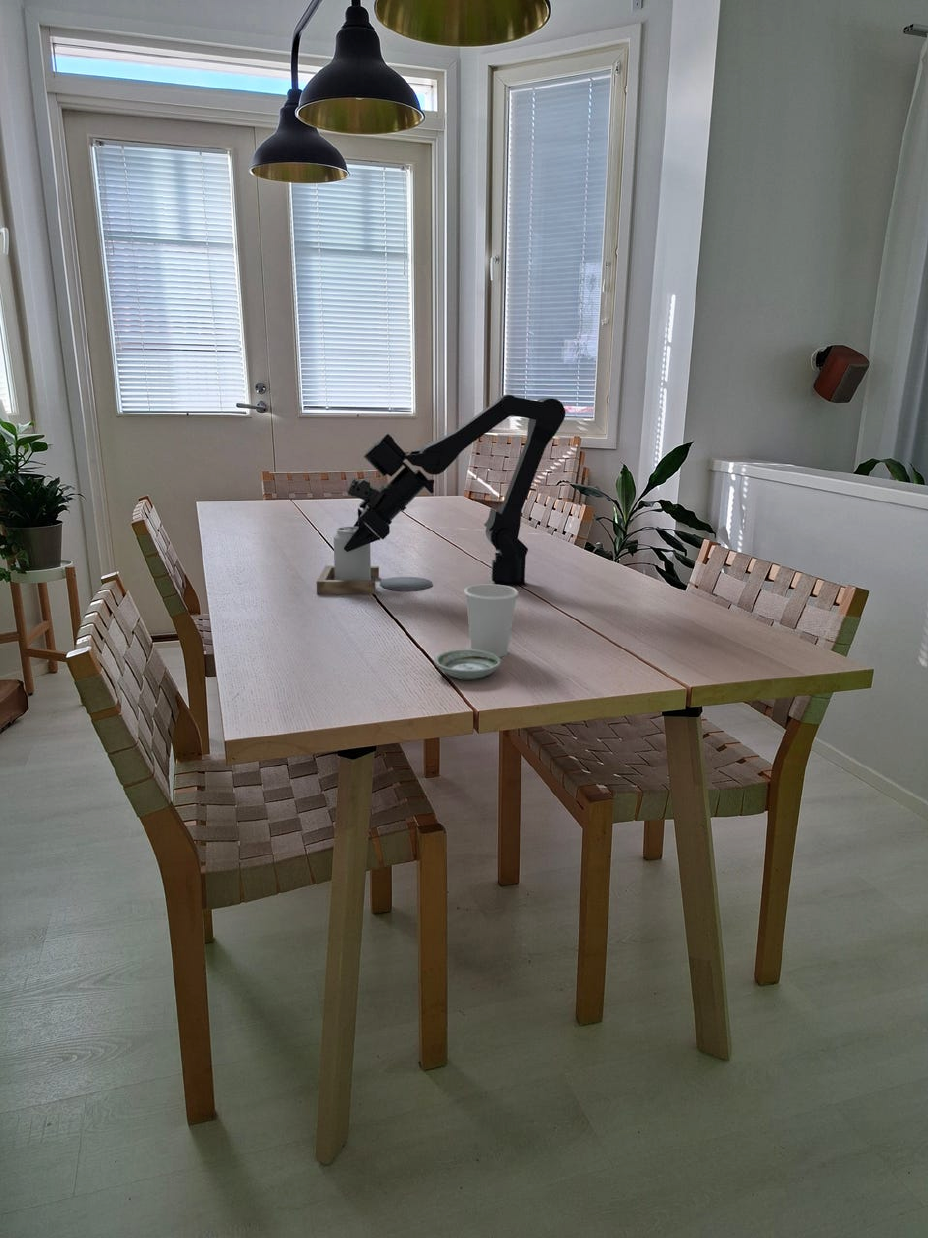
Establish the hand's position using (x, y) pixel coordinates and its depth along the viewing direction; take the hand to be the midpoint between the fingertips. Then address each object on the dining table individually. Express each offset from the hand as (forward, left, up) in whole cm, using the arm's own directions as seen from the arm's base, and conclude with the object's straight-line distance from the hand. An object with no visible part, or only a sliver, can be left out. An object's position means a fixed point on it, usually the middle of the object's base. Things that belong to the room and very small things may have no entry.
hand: (345, 546), depth 166 cm
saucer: (-22, +54, -9) cm, 59 cm away
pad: (-12, -1, -8) cm, 15 cm away
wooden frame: (-1, 0, -8) cm, 8 cm away
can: (-1, 0, -8) cm, 8 cm away
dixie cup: (-26, +44, -8) cm, 52 cm away
